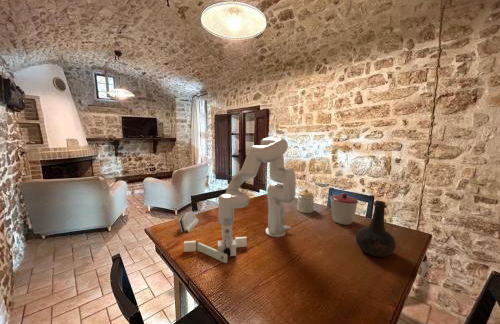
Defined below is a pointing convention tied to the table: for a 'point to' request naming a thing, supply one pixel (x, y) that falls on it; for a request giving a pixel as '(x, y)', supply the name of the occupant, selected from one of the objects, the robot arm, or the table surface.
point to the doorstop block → (232, 247)
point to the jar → (305, 201)
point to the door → (211, 252)
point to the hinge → (188, 221)
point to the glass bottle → (376, 234)
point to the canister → (343, 208)
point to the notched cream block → (192, 244)
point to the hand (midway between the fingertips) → (226, 252)
